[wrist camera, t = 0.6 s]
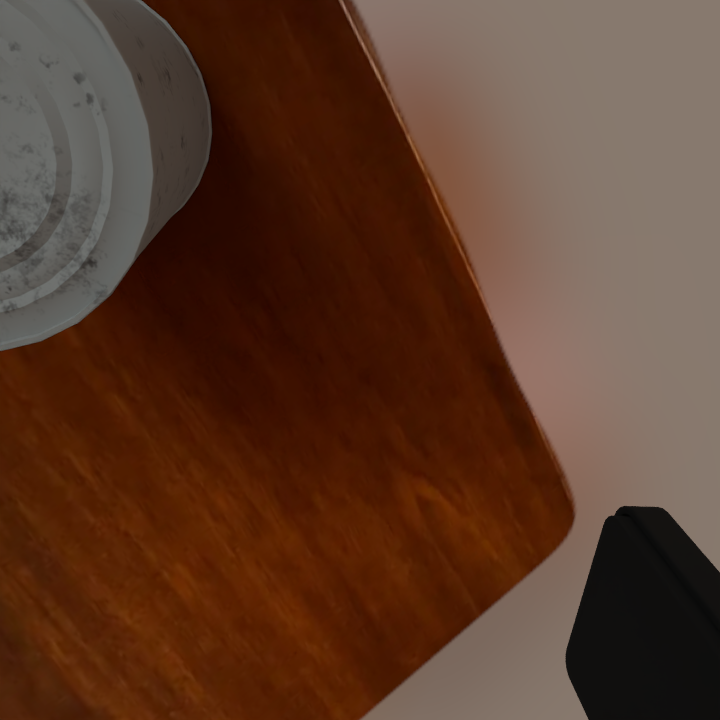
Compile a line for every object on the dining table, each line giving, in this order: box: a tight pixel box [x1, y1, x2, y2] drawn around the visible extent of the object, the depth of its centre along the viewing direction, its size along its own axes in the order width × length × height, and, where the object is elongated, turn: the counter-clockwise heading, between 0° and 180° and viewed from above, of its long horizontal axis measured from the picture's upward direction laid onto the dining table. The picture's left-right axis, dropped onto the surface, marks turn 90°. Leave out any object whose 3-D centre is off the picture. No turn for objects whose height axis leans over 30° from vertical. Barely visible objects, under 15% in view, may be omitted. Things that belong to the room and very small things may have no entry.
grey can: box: [0, 0, 212, 351], centre depth 20 cm, size 10×10×12 cm
